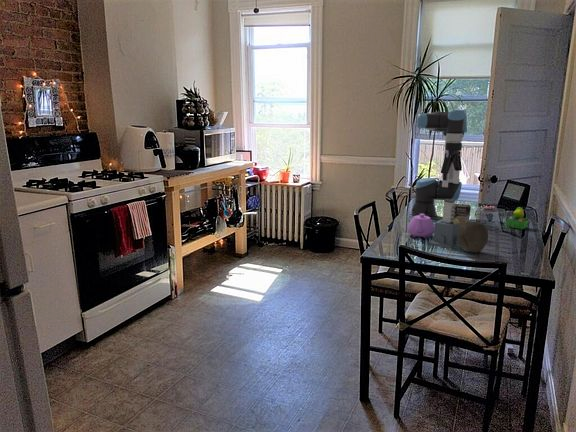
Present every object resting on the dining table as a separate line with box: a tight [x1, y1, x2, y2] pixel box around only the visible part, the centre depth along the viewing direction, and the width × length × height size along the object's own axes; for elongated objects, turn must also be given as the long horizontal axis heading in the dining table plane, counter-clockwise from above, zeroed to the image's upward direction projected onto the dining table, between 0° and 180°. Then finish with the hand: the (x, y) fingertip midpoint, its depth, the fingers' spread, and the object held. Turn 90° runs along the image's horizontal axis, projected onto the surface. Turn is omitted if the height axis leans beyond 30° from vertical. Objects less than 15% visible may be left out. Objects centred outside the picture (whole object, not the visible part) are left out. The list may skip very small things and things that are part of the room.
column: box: [442, 199, 456, 224], centre depth 232 cm, size 5×4×21 cm
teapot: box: [407, 214, 435, 239], centre depth 245 cm, size 20×14×12 cm
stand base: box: [427, 218, 460, 250], centre depth 234 cm, size 12×16×13 cm
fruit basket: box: [504, 206, 530, 230], centre depth 262 cm, size 11×9×11 cm
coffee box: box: [453, 203, 472, 227], centre depth 249 cm, size 9×6×16 cm
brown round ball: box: [458, 220, 489, 254], centre depth 220 cm, size 14×14×15 cm
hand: (450, 185), depth 229 cm, fingers open, 13 cm apart
